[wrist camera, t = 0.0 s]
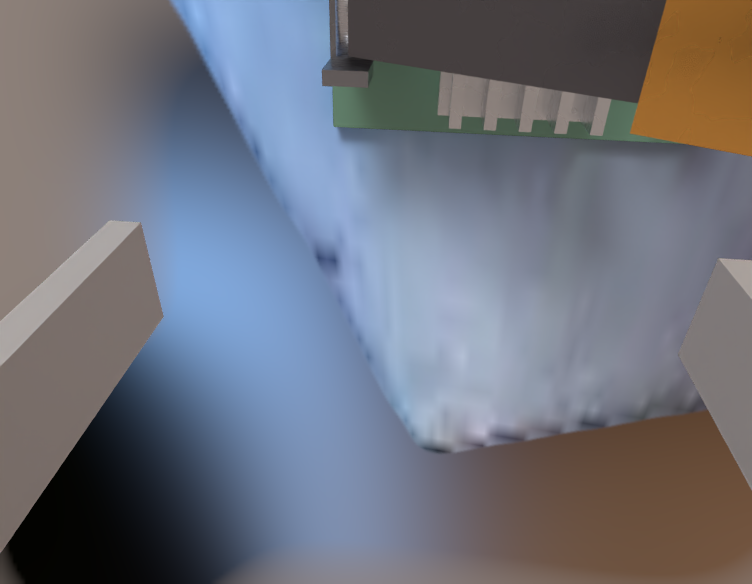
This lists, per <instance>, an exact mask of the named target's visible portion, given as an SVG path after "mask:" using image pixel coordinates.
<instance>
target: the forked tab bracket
mask: <svg viewBox="0 0 752 584" xmlns="http://www.w3.org/2000/svg"><path fill="white" fill-rule="evenodd" d="M329 10H330V50H331V59H330V60H329V61H328V63H327V64H326V65H325V66H324V68H323V69H322V86H338V87H361V88H368V87H369V84H370V82H371V80H372V77H373V68H374V60H368V59H362V58H340V57H337V56H336V16H335V0H329Z"/></svg>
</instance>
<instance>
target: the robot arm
mask: <svg viewBox="0 0 752 584" xmlns="http://www.w3.org/2000/svg"><path fill="white" fill-rule="evenodd" d="M162 318H163V312H162V308H161V304H160V300H159V296H158V292H157V288H156V283H155V279H154V276H153V271H152V267H151V263H150V258H149V254H148V250H147V246H146V243H145V238H144V234H143V229H142V225H141V223H139V222H123V221H109V222H107V223H106V224H105V225H104V226H103V227H102V228H101V229H100V230H99V231H98V232H97V233H96V234H94V235H93V236H92V237H91V238H90V239H89V240H88V241H87V242H86V243H85V244H84V245H82V246H81V247H80V248H79V249H78V250H77V251H76V252H75V253H74V254H73V255H72V256H71V257H69V258H68V259H67V260H66V261H65V262H64V263H63V264H62V265H61V266H60V267H59V268H58V269H56V270H55V272H53V273H52V274H51V275H50V276H49V277H48V278H47V279H46V280H45V281H44V282H42V284H40V285H39V286H38V287H37V288H36V289H35V290H34V291H33V292H32V293H31V294H29V295H28V296H27V297H26V298H25V299H24V300H23V301H22V302H21V303H20V304H18V305H17V306H16V307H15V308H14V309H13V310H12V311H11V312H10V313H9V314H8V315H7V316H5V318H3V319H2V320H1V321H0V552H1V551H2V550H3V548H4V547H5V546H6V544H7V543H8V541H9V540H10V538H11V537H12V535H13V534H14V532H15V531H16V529H17V528H18V527H19V525H20V524H21V522H22V521H23V519H24V518H25V517H26V515H27V514H28V512H29V511H30V509H31V508H32V506H33V505H34V504H35V502H36V500H37V499H38V498H39V496H40V494H41V493H42V492H43V490H44V489H45V487H46V486H47V485H48V483H49V482H50V480H51V479H52V477H53V476H54V475H55V473H56V472H57V470H58V469H59V467H60V466H61V464H62V463H63V461H64V460H65V459H66V457H67V456H68V454H69V453H70V451H71V450H72V448H73V447H74V446H75V444H76V442H77V441H78V440H79V438H80V437H81V435H82V434H83V432H84V431H85V430H86V428H87V427H88V425H89V424H90V422H91V421H92V419H93V418H94V417H95V415H96V413H97V412H98V411H99V409H100V408H101V406H102V405H103V404H104V402H105V400H106V399H107V398H108V396H109V395H110V393H111V392H112V390H113V389H114V388H115V386H116V385H117V383H118V382H119V380H120V379H121V377H122V376H123V375H124V373H125V372H126V370H127V369H128V367H129V366H130V364H131V363H132V361H133V360H134V359H135V357H136V356H137V354H138V353H139V351H140V350H141V348H142V347H143V346H144V344H145V343H146V341H147V340H148V338H149V337H150V335H151V334H152V333H153V331H154V330H155V328H156V326H157V325H158V324H159V322H160V321H161V319H162ZM678 355H679V357H680V359H681V361H682V363H683V365H684V366H685V368H686V370H687V372H688V374H689V376H690V377H691V379H692V381H693V383H694V385H695V387H696V388H697V390H698V392H699V394H700V396H701V398H702V399H703V401H704V403H705V405H706V407H707V409H708V411H709V412H710V414H711V416H712V418H713V420H714V421H715V423H716V425H717V427H718V429H719V431H720V433H721V434H722V436H723V438H724V440H725V442H726V444H727V445H728V447H729V449H730V451H731V453H732V455H733V456H734V458H735V460H736V462H737V463H738V465H739V467H740V469H741V471H742V473H743V475H744V477H745V479H746V480H747V482H748V484H749V486H750V488H751V490H752V260H737V259H721V258H718V260H717V263H716V265H715V267H714V270H713V272H712V275H711V277H710V279H709V282H708V284H707V287H706V289H705V291H704V294H703V296H702V298H701V301H700V303H699V306H698V308H697V310H696V313H695V315H694V318H693V320H692V322H691V325H690V327H689V329H688V332H687V334H686V337H685V339H684V341H683V344H682V346H681V349H680V351H679V353H678Z"/></svg>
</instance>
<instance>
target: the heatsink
mask: <svg viewBox="0 0 752 584" xmlns="http://www.w3.org/2000/svg"><path fill="white" fill-rule="evenodd" d="M610 103H611V99H607V98H601V97H595V96H588V95H582V94H576V93H570V92H564V91H558V90H552V89H546V88H539V87H533V86H527V85H521V84H515V83H509V82H503V81H496V80H490V79H484V78H478V77H472V76H466V75H460V74H454V73H447V72H441V71H440V79H439V91H438V115H445V116H448V125H449V128H451V129H461V122H462V116H466V117H481V120H482V125H483V130H492V131H496V125H497V118H509V119H514V121H515V123H516V126H517V129H518V132H531V129H532V124H533V120H547V121H548V123H549V125H550V127H551V129H552V131H553V132H554V134H567V129H568V125H569V121H573V122H581V123H582V125H583V126H584V128H585V129H586V130H587V132H588V133H589V135H596V136H602V135H603V131H604V127H605V123H606V119H607V115H608V111H609V107H610Z"/></svg>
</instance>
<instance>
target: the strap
mask: <svg viewBox="0 0 752 584" xmlns="http://www.w3.org/2000/svg"><path fill="white" fill-rule="evenodd" d="M335 16H336V56H337V57H340V58H362V59H368V60H374V61H380V62H386V63H392V64H398V65H404V66H411V67H417V68H423V69H429V70H435V71H441V72H447V73H454V74H460V75H466V76H472V77H478V78H484V79H490V80H496V81H503V82H509V83H515V84H521V85H527V86H533V87H539V88H546V89H552V90H558V91H564V92H570V93H576V94H582V95H588V96H595V97H601V98H607V99H613V100H619V101H625V102H631V103H638V105H637V109H636V113H635V116H634V120H633V123H632V127H631V131H630V134H635V135H640V136H646V137H651V138H656V139H662V140H667V141H672V142H678V143H683V144H688V145H694V146H699V147H704V148H710V149H715V150H720V151H726V152H731V153H737V154H742V155H747V156H752V0H335Z"/></svg>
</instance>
